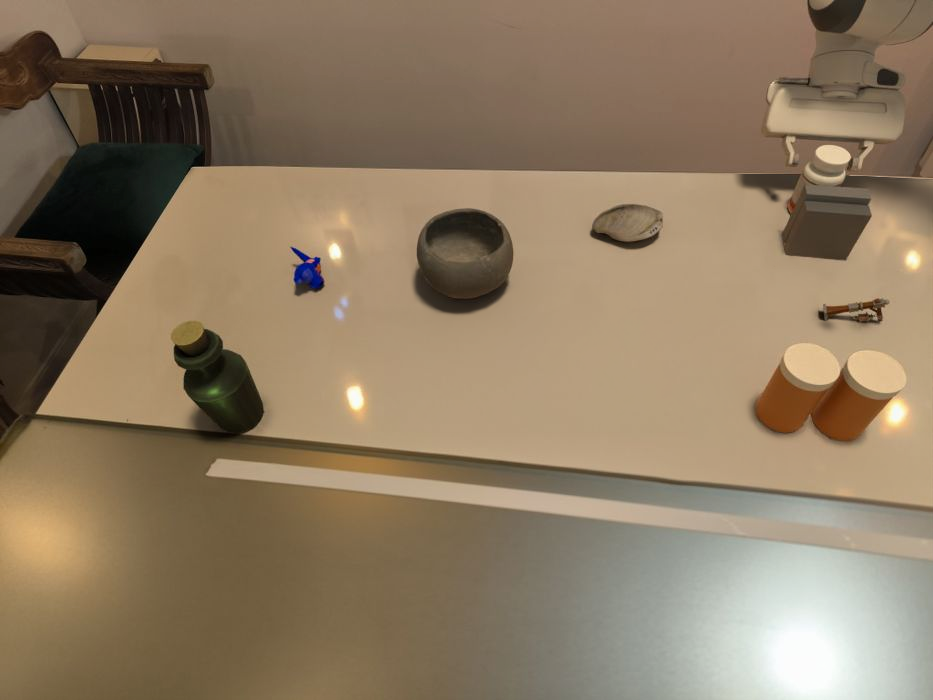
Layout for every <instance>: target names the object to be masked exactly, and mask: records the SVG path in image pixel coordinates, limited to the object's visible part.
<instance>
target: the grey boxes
mask: <svg viewBox="0 0 933 700" xmlns="http://www.w3.org/2000/svg"><path fill="white" fill-rule="evenodd" d="M871 195H872V194H871V193H870V189H869V188H861V187H849V186H841V187H835V186H821V185H807V184H805V185H804V188H803V190H802V192H801V194H800V196H799V198H798V201H797V203H796V205H795V207H794V209H793V212H792V214H791V213H790V216H789V218H788V221H787V223H786V225H785V227H784V228H783V231H782V234H781V236H782V241H783V247H784V253H785V255H786V256H796V257H805V258H817V259H829V260H839V261H847V259H848V258H849V255H851V254H850V253H851V252H852V251H853V249H854V247H855V245H856V244H857V242H858V240H859V238H860V237H861V235H862V234H863V232H864V231H865V229H866V227H867V225H868V223H869V222H870V220H871V218H872V217H873V214H872V211H871V208H870V205H869V204H870V203H871V200H872V196H871Z"/></svg>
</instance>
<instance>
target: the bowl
mask: <svg viewBox="0 0 933 700" xmlns="http://www.w3.org/2000/svg"><path fill="white" fill-rule="evenodd" d="M416 260H417V263H418V267H419V269H420V271H421V273H422V275H423V278H424V279H425V280H426V282H427V283H428V284H429V285H430V286H431V287H432V288H434V289H435V290H436V291H438V292H439V293H442V294H443V295H445V296H446V297H450V298H454V299H473V298H474V299H475V298H477V297H481V296H484V295H487V294H489V293H491V292H492V291H494V290H496V289H497V288H498V287H500V286H501V285H502V284H503V283H504V282H505V281H506V279H507V278H508V276H509V274H510V272H511V270H512V266H513V263H514V244H513V240H512V238H511V234H510V232H509V230H508V229H507V227H506V226H505V223H503V221H501V220H500V219H499V218H498V217H497V216H495V215H493V214H492V213H490V212H487V211H485V210H481V209H478V208H471V207H464V208H456V209H451V210H447V211H444V212H441V213H438V214H436V215H434V216H433V217H431V218H430V219H429V220H428V221H427V222H426V223H425V224H424V226H423V227H422V228H421V231H420V233H419V235H418V239H417V244H416Z"/></svg>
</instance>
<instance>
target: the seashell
mask: <svg viewBox="0 0 933 700" xmlns="http://www.w3.org/2000/svg"><path fill="white" fill-rule="evenodd" d="M663 227H664V214H663V212H662V211H661V210H659V209H656V208H654V207H651V206H648V205H644V204H637V203H625V204H623V203H622V204H618V205H614V206H613V207H611V208H609V209H606V210H604V211H602V212H600V213H599V214H598V215H597V216H596V217H595V218H594V220H593V222H592V225H591V228H592V229H593V231H595V232H596V233H597V234H601V233H602V234H607V235H608V236H609V237H610V238H612V239H614V240H616V241H619V242H627V243H628V242H630V243H631V242H636V241H642V240H645V239H646V240H647V239H648V238H651V237H653V236H654V235H656V234H657V233H658V232H659V231H660V230H661V229H663Z"/></svg>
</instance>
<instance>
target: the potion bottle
mask: <svg viewBox="0 0 933 700" xmlns="http://www.w3.org/2000/svg"><path fill="white" fill-rule="evenodd" d="M204 327H205V326H204V325H203V324H202V322H201V321H199V320H192V319H191V320H186V321H183V322H181V323H179V324H177V326H175V327H174V328H173V330H172V331H171V333H170V341H171V342H172V343H173V344H174V346H173V360H174V362H175V363H176V365H177V367H180V368H181V369H183V370H185V371H184V373H183V384H182V385H183V390H184V392H185V393H186V395H187V396H188V398H189V399H190V400H191V401H193V403H194V404H195V405H196V406H198V408H199V409H200V410H201V411H202V412H203V413H204V414H205V415H206V416H207V417H208V418H209V419H210V420H211V421H212V422H213V423H214V424H215V425H216V426H217V427H218V428H219V429H220V430H221V431H223V432H225V433H228V434H241V433H244V432H247V431H249V430H251V429H252V428H254V427H255V426H256V425H257V424H258V423H259V421H260V420H261V419H262V417H263V414H264V411H265V409H264V402H263V400H262V398H261V395H260V392H259V390H258V387H257V385H256V383H255V380H254V378H253V375H252V374H251V373H252V372H251V371H250V369H249V366H248V363H247V361H246V360H245V359H244V357H243V356H242V355H241V354H240V353H238V352H235V351H233V350H230V349H226V348H224V341H223V339H222V338H221V336H220V335H219V334H217V333H216V332H214V331H212V330H211V329H208V328H204Z"/></svg>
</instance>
